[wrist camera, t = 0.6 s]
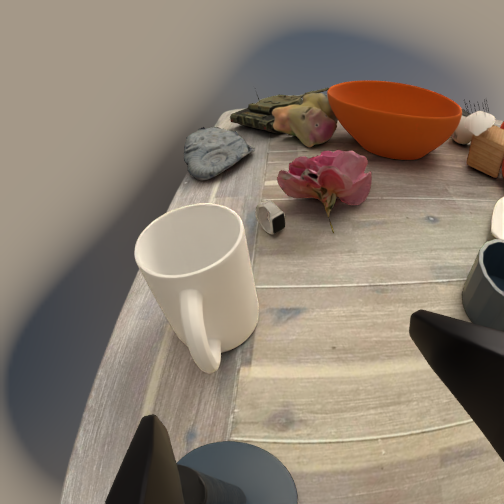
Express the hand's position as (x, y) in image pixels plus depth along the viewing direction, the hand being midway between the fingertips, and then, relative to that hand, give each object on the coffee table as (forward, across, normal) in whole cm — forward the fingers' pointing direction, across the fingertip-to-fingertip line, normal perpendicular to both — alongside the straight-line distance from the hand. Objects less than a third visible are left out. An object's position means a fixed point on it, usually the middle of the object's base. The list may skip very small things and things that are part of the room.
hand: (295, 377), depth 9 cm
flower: (+29, -16, +7) cm, 34 cm away
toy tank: (+64, -28, -4) cm, 70 cm away
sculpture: (+54, -25, -5) cm, 59 cm away
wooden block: (+24, -46, +4) cm, 53 cm away
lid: (+2, +6, +14) cm, 15 cm away
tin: (+7, -24, +13) cm, 29 cm away
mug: (+16, +2, +10) cm, 20 cm away
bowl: (+41, -38, +3) cm, 56 cm away
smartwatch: (+28, -7, +7) cm, 30 cm away
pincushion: (+26, -48, 0) cm, 55 cm away
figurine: (+33, -58, +1) cm, 67 cm away
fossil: (+47, -7, +4) cm, 48 cm away
